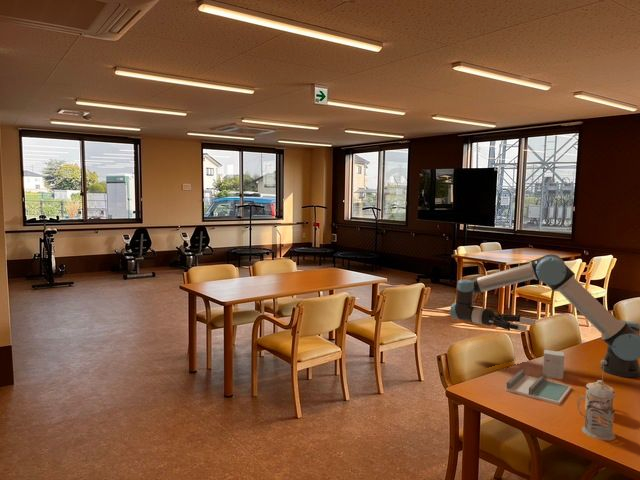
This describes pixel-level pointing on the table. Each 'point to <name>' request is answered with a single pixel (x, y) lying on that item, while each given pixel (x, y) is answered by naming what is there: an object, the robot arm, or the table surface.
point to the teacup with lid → (609, 401)
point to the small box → (553, 364)
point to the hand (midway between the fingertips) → (530, 325)
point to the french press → (591, 425)
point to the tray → (537, 388)
